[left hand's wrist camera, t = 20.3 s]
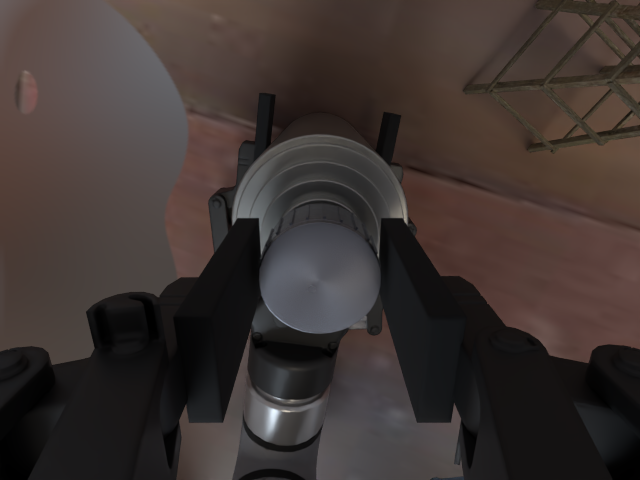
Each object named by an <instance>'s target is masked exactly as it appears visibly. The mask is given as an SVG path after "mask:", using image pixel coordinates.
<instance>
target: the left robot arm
mask: <svg viewBox="0 0 640 480" xmlns="http://www.w3.org/2000/svg"><path fill="white" fill-rule="evenodd" d="M260 257H261V245H260V228H259V218H237V220H236V221H235V223H234V224H233V226H232V227H231V229H230V230H229V232H228V233H227V235H226V237H225V238H224V240H223V241H222V243H221V244H220V246H219V247H218V249H217V250H216V252H215V253H214V255H213V256H212V258H211V259H210V261H209V263H208V264H207V266H206V267H205V269H204V270H203V272H202V273H201V275H200V276H199V277H181V278H179V279H178V280H176V281H174V282H173V283H171V284H170V285H168V286H167V287H166V288H165V289H164V291H163V292H162V293H161V295H160V297H156V296H155V295H154V294H150V293H146V292H129V293H123V294H117V295H114V296H111V297H108V298H105V299H103V300H101V301H99V302H98V303H96V304H94V305H93V306H92V307H91V308H89V309H88V311H86V314H87V318H88V322H89V326H90V330H91V335H92V339H93V343H94V347H95V349H94V351H93V353H92V355H91V357H89V358H85V359H81V360H76V361H71V362H66V363H61V364H55V365H52V364H51V360H50V357H49V354H48V352H47V351H45V350H44V349H43V348H39V347H32V346H30V347H17V348H12V349H10V350H4V351H1V352H0V480H176V476H177V469H178V461H179V453H180V445H181V431H180V424H179V419H180V417H181V414H182V412H183V410H184V407H185V405H186V406H187V412H188V419H189V423H223V421H224V417H225V414H226V410H227V407H228V404H229V400H230V397H231V393H232V390H233V387H234V383H235V380H236V376H237V373H238V370H239V366H240V363H241V359H242V356H243V353H244V349H245V346H246V342H247V339H248V336H249V332H250V329H251V325H252V322H253V318H254V315H255V312H256V308H257V305H258V301H259V298H260V295H261V293H260V289H259V284H258V273H259V266H260V263H261V261H259V260H260ZM379 261H380V263H381V266H382V269H381V271H382V283H381V289H380V293H379V295H380V298H381V301H382V305H383V308H384V312H385V315H386V318H387V322H388V325H389V329H390V332H391V336H392V339H393V342H394V346H395V349H396V353H397V356H398V359H399V363H400V366H401V370H402V373H403V376H404V380H405V383H406V387H407V390H408V393H409V397H410V400H411V404H412V407H413V410H414V414H415V417H416V421H417V423H451V419H452V412H453V406H454V403H455V405H456V408H457V410H458V412H459V415H460V417H461V424H460V430H459V437H458V443H457V449H456V455H455V462H454V464H457V465H460V460H462V468H463V476H464V480H640V349H636V348H631V347H628V346H620V345H602V346H598V347H596V348H595V349H594V350H593V351H592V354H591V357H590V360H589V363H584V362H579V361H573V360H568V359H563V358H558V357H554V356H550V355H549V354H548V352H547V350H546V348H545V347H544V346H543V344H542V343H541V342H540V341H539V340H538V339H536V338H535V337H533V336H532V335H530V334H529V333H526V332H524V331H521V330H519V329H516V328H512V327H507V326H505V324H504V323H503V322H502V321H501V319H500V318H499V317H498V316H497V314H496V313H495V312H494V310H493V309H492V308H491V307H490V305H489V304H487V302H486V300H485V299H484V298H483V297H482V296H481V295H480V293H479V292H478V290H477V289H476V288H475V287H474V285H473V284H471V283H470V282H468V281H466V280H465V279H463V278H461V277H460V276H440V275H439V273H438V272H437V270H436V269H435V267H434V266H433V264H432V263H431V261H430V259H429V258H428V256H427V255H426V253H425V252H424V250H423V249H422V247H421V246H420V244H419V243H418V241H417V240H416V238H415V237H414V235H413V233H412V232H411V230H410V229H409V227H408V226H407V224H406V223H405V221H404V220H403V218H381V228H380V245H379Z"/></svg>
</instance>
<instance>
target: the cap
mask: <svg viewBox="0 0 640 480" xmlns="http://www.w3.org/2000/svg"><path fill="white" fill-rule="evenodd" d="M377 254H378V251H377V248H376V245H375V243H374V240H373V237H372V235H370V234H369V232H368V230H367V228H366V225H365V223H362V222H361V221H360V220H359V219H358V218H357V217H356V216H355V214H354V213H353V212H352V213H350V212H349V211H347V210H345V209H343V208H341V206H334V205H330V204H325V203H323V204H307V205H306V206H302V207H300V208H297V209H295V208H294V209H292V211H291V212H289V213H288V214H287V215H285V216H284V217H283V218H282V217H281V218H280V220H279V222H278V223H277V224H276V226H275V227H274V229H273V228H272V229H271V231H270V234H269V237H268V240H267V241H266V243H265V246H264V249H263V251H262V254H261V257H260V260H259V261H261V263H260V266H259V273H258V284H259V289H260V293H261V296H262V298H263V300H264V302H265V304H266V306H267V307H268V309H269V310H270V311H271V312H272V313H273V315H274V316H275V317H277V318H278V319H279V320H280V321H282V322H283V323H284V324H286V325H288V326H290V327H292V328H294V329H297V330H299V331H303V332H307V333H315V334H325V333H332V332H337V331H340V330H343V329H346V328H348V327H350V326H352V325H354V324H355V323H357V322H359V321H360V320H361V319H362V318H364V317H365V316H366V315H367V314H368V312H369V311H370V310H371V309H372V307H373V306H374V304H375V302H376V300H377V298H378V296H379V293H380V289H381V283H382V271H381V269H382V266H381V263H380V261H379V258H378V255H377Z"/></svg>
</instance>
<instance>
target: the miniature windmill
mask: <svg viewBox="0 0 640 480" xmlns="http://www.w3.org/2000/svg"><path fill="white" fill-rule="evenodd" d="M586 1H587V2H580V1H573V0H539V1H538V2H537V3H536V4H535V5H534V6H535V7H536V8H537V9H543V10H552V12H551V13H550V15H549V16H548V17H547V18H546V19H545V20H544V22H543V23H542V24H541V25H540V26H539V27H538V29H537V30H536V31H535V32H534V33H533V34H532V36H531V37H530V38H529V39H528V40H527V42H526V43H525V44H524V45H523V46H522V47H521V49H520V50H519V51H518V52H517V53H516V54H515V56H514V57H513V58H512V59H511V60H510V61H509V63H508V64H507V65H506V66H505V67H504V68H503V70H502V71H501V72H500V73H499V74H498V75H497V77H496V78H495V79H494V80H493V81H492V82H491V83H488V84H476V85H468V86H467V87H466V88H465V89H464V90H463V91H464V93H465V94H477V93H489V94H490V95H491V96H492V97H493V98H494V99H496V100H497V101H498V102H499V103H500V104H501V105H502V106H503V107H504V108H505V109H506V110H507V111H509V112H510V113H511V114H512V115H513V116H514V117H515V118H516V119H517V120H518V121H519V122H520V123H521V124H523V125H524V126H525V127H526V128H527V129H528V130H529V131H530V132H531V133H532V134H533V135H534V136H536V137H537V138H538V139H539V140H540V141H541V143H535V144H531V146H530V147H529V148H528V149H527V150H528V151H529V152H536V151H543V150H549V149H550V150H551V151H550V152H552V153H553V154H554V153H555V152H556V151H557V150H558V149H559V148H563V147H569V146H576V145H583V144H589V143H597V144H598V145H604V144H605V143H607V142H608V141H609V140H616V139H623V138H629V137H636V136H640V125H637V126H632V127H626V128H622V127H623V126H624V125H625V124H626V123H627V122H628V121H629V120H630V119H631V118H632V117H633V116H634V115H635V114H636V115H637V116H638V117H639V118H640V102H639V103H637V102H636V101H635V100H634V99H633V98H632V97H631V96H630V95H629V94H628V93H627V92H626V90H625V89H624V88H623V87H622V86H621V84H637V83H640V65H633V64H632V63H631V62H632V61H633V59H634V58H635V57H636V56H638V57H639V58H640V42H639V43H638V44H637V45H635V44H634V43H633V42H632V41H631V40H630V39H629V37H628V36H627V35H626V34H625V33H624V32H623V31H622V30H621V29H620V28H619V27H618V25H617V24H616V23H615V22H614V21H613V20H612V19H611V18H610V17H614V18H623V19H624V21H625V22H626V23H627V24H628V25H629V26H630V27H631V28H632V29H633V30H634V31H635V32H636V33H637V34H638V35H639V37H640V26H639V25H638V24H637V23H636V22H635V21H634V20H640V4H639V5H638V6H629V5H619V3H618V2H617V1H616V0H613V1H611V2H610V3H609V4H605V3H596V2H595V0H586ZM559 11H561V12H570V13H578V14H579V15H580V16H581V17H582V19H583V20H584V21H585V22H586V23H587V24H588V25H589V26H590V28H589V29H588V31H587V32H586V33H585V34H584V35H583V36H582V37H581V38H580V39H579V41H578V42H577V43H576V44H575V45H574V46H573V47H572V48H571V50H570V51H569V52H568V53H567V54H566V55H565V56H564V57H563V58H562V60H561V61H560V62H559V63H558V64H557V65H556V66H555V67H554V69H553V70H552V71H551V72H550V73H549V74H548V75H547V76H546V77H545V79H536V80H524V81H512V82H500V83H498V81H499V80H500V79H501V78H502V77H503V76H504V74H505V73H506V72H507V71H508V70H509V69H510V67H511V66H512V65H513V64H514V63H515V62H516V60H517V59H518V58H519V57H520V56H521V55H522V53H523V52H524V51H525V50H526V49H527V48H528V46H529V45H530V44H531V43H532V42H533V41H534V39H535V38H536V37H537V36H538V35H539V34H540V32H541V31H542V30H543V29H544V28H545V27H546V25H547V24H548V23H549V22H550V21H551V20H552V19H553V17H554V16H555V15H556V14H557V13H558V12H559ZM586 14H587V15H596V16H600V17H599V18H598V19H597V20H596V22H595V23H594V22H593V21H592V20H591V19H590V18H589V17H588V16H587V15H586ZM604 21H605V22H606V23H607V24H608V25H609V26H610V27H611V28H612V29H613V30H614V32H615V33H616V34H617V35H618V36H619V37H620V38H621V39H622V40H623V41H624V42H625V43H626V44H627V46H628V47H629V48H630V49H631V51H630V52H629V53H628V54H627V55H626V56H625V55H624V54H623V53H622V52H621V51H620V50H619V49H618V48H617V47H616V46H615V45H614V43H613V42H612V41H611V40H610V39H609V38H608V37H607V36H606V35H605V34H604V33H603V32H602V31H601V30H600V29H599V26H600V25H601V24H602V23H603V22H604ZM594 32H596V33H597V34H598V36H599V37H600V38H601V39H602V40H603V41H604V42H605V43H606V44H607V45H608V46H609V47H610V48H611V49H612V50H613V51H614V52H615V54H616V55H617V56H618V57H619V58H620V59H621V60H622V61H621V62H620V63H619V64H618V65H617V66H605V67H604V68H603V69H602V70H601V71H600V72H599V73H600V74H597V75H585V76H572V77H560V78H553V77H554V76H555V75H556V74H557V73H558V72H559V71H560V70H561V69H562V67H563V66H564V65H565V64H566V63H567V62H568V61H569V60H570V59H571V57H572V56H573V55H574V54H575V53H576V52H577V51H578V50H579V49H580V47H581V46H582V45H583V44H584V43H585V42H586V41H587V40H588V39H589V38H590V36H591V35H592V34H593V33H594ZM605 85H607V86H608V87H609V88H610V90H609V91H608V92H607V93H606V94H605V95H604V96H603V97H602V98H601V99H600V100H599V101H598V102H597V103H596V104H595V105H594V106H593V107H592V109H591V110H590V111H589V112H588V113H587V114H586V115H585V116H584V117H583V118H582V119H581V118H580V117H579V116H578V115H577V114H576V113H575V112H574V111H573V110H572V109H571V108H570V107H569V106H568V105H567V104H566V103H565V102H564V101H563V100H562V99H560V98H559V97H558V96H557V95H556V94H555V93H554V92H553V91H552V90H551V89H557V88H573V87H589V86H605ZM525 90H542V91H543V92H544V93H545V94H547V95H548V96H549V97H550V98H551V99H552V100H553V101H554V102H555V103H556V104H557V105H558V106H559V107H560V108H561V109H562V110H563V111H564V112H565V113H566V114H567V115H568V116H569V117H570V118H571V119H572V120H573V121H574V122H575V123H576V125H575V126H574V127H573V128H572V129H571V130H570V131H569V133H568V134H567V135H566V136H565V137H564V138H563V139H558V140H552V141H547V140H546V139H545V138H544V137H543V136H542V135H541V134H540V133H539V132H538V131H537V130H536V129H535V128H533V127H532V126H531V125H530V124H529V123H528V122H527V121H526V120H525V119H524V118H523V117H522V116H521V115H520V114H518V113H517V112H516V111H515V110H514V109H513V108H512V107H511V106H510V105H509V104H508V103H507V102H506V101H504V100H503V99H502V98H501V97H500V96H499V95H498V94H497V93H496V92H509V91H525ZM613 92H614V93H615V94H616V95H617V96H618V97H619V98H620V99H621V100H622V101H623V102H624V103H625V104H626V105H627V106H628V107H629V108H630V109H631V111H630V112H629V113H628V114H627V115H626V116H625V117H624V118H623V119H622V120H621V121H620V122H619V123H618V124H617V125H616V126H615V127H614V128H613V129H612V130H609V131H603V132H598V133H595V132H594V131H593V130H592V129H591V128H590V127H589V126H588V125H587V124H586V123H585V121H586V120H587V119H588V118H589V117H590V116H591V115H592V114H593V113H594V112H595V111H596V110H597V109H598V108H599V106H600V105H601V104H602V103H603V102H604V101H605V100H606V99H607V98H608V97H609V96H610V95H611V94H612V93H613ZM579 127H581V128H582V129H583V130H584V131H585V132H586V133H587V134H586V135H581V136H575V137H571V136H572V135H573V133H574V132H575V131H576V130H577V129H578V128H579Z"/></svg>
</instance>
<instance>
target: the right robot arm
mask: <svg viewBox="0 0 640 480" xmlns="http://www.w3.org/2000/svg"><path fill="white" fill-rule="evenodd" d="M274 104H275V95H274V94H268V93H259V104H258V115H257V127H256V138H255V142H254V141H247V140H246V141H244V142H243V143H242V144H241V146H240V148H239V156H238V169H237V182H236V186H234V187H230V188H220V189H219V190H218V191H217V192H216V193H215V194H214V195H213V196H212V197H211V198H210V199H209V203H208V204H209V213H210V221H211V229H212V237H213V246H214V253H215V252H216V250H217V249H218V247H219V246H220V244H221V243H222V241H223V240H224V238H225V237H226V235H227V233H228V232H229V230H230V229H231V227H232V206H233V202H234V197H235V194H236V191H237V188H238V186H239V183H240V182H241V180H242V178H243V176H244V174H245V173H246V172H247V170H248V169H249V168H250V166H251V165H252V164H253V163H254V162H255V161H256V160H257V158H258V157H259V156H260V155H261V154H262V153H263V152H264V151H265V150H266V149H267V148H268V147H269V146H270V143H271V134H272V124H273V114H274ZM400 118H401V115H397V114H394V113H388V112H384V113H383V118H382V123H381V128H380V133H379V138H378V143H377V148H376V152H377V153H378V154H379V155H380V156H381V157H382V158H383V160H384V161H385V162H386V163H387V164H388V165H389V166H390V167H391V169H392V170H393V172H394V173H395V175H396V176H397V178H398V180H399V182H400V184H401V182H402V178H403V169H402V166H401V165H399V164H398V163H392V162H391V161H392V156H393V151H394V147H395V142H396V137H397V132H398V128H399V123H400ZM408 227H409V229H410V230H411V232H412V233H413V235H414V237H415V235H416V232H417V229H416V227H415V225H414V224H413V222H412V221H411V220H410V218H409V217H408ZM382 310H383V305H382V301H381V298H380V295H379V296H378V298H377V300H376V302H375V304H374V306H373V307H372V309H371V310H370V311H369V312H368V314H367V315H366V316H365V317H364V318H362V319H361V320H360V321H359V322H357V323H355V324H354V325H352V326H350V327H348V328H346V329H343V330H340V331H337V332H332V333H325V334H315V333H307V332H303V331H299V330H297V329H294V328H292V327H290V326H288V325H286V324H284V323H283V322H282V321H280V320H279V319H278V318H277V317H275V316H274V315H273V313H272V312H271V311H270V310H269V309H268V307H267V306H266V304H265V302H264V300H263V298H262V296H261V295H260V298H259V301H258V305H257V308H256V312H255V315H254V318H253V322H252V325H251V338H250V348H249V358H248V373H247V377H246V386H245V397H244V410H243V423H242V430H241V437H240V445H239V451H238V457H237V461H236V466H235V470H234V475H233V479H232V480H316V464H317V454H318V448H319V441H320V435H321V430H322V426H323V421H324V418H325V413H326V408H327V403H328V398H329V393H330V387H331V381H332V377H333V372H334V367H335V362H336V357H337V352H338V347H339V343H340V340H341V339H342V337H343V336H344V335H345V334H346V333H347V331H348V329H367V332H368V333H369V334H370V335H378V334H379V333H380V332H381V330H382ZM430 480H464V476H463V477H453V478H443V479H440V478H437V477H435V478H432V479H430Z"/></svg>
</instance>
